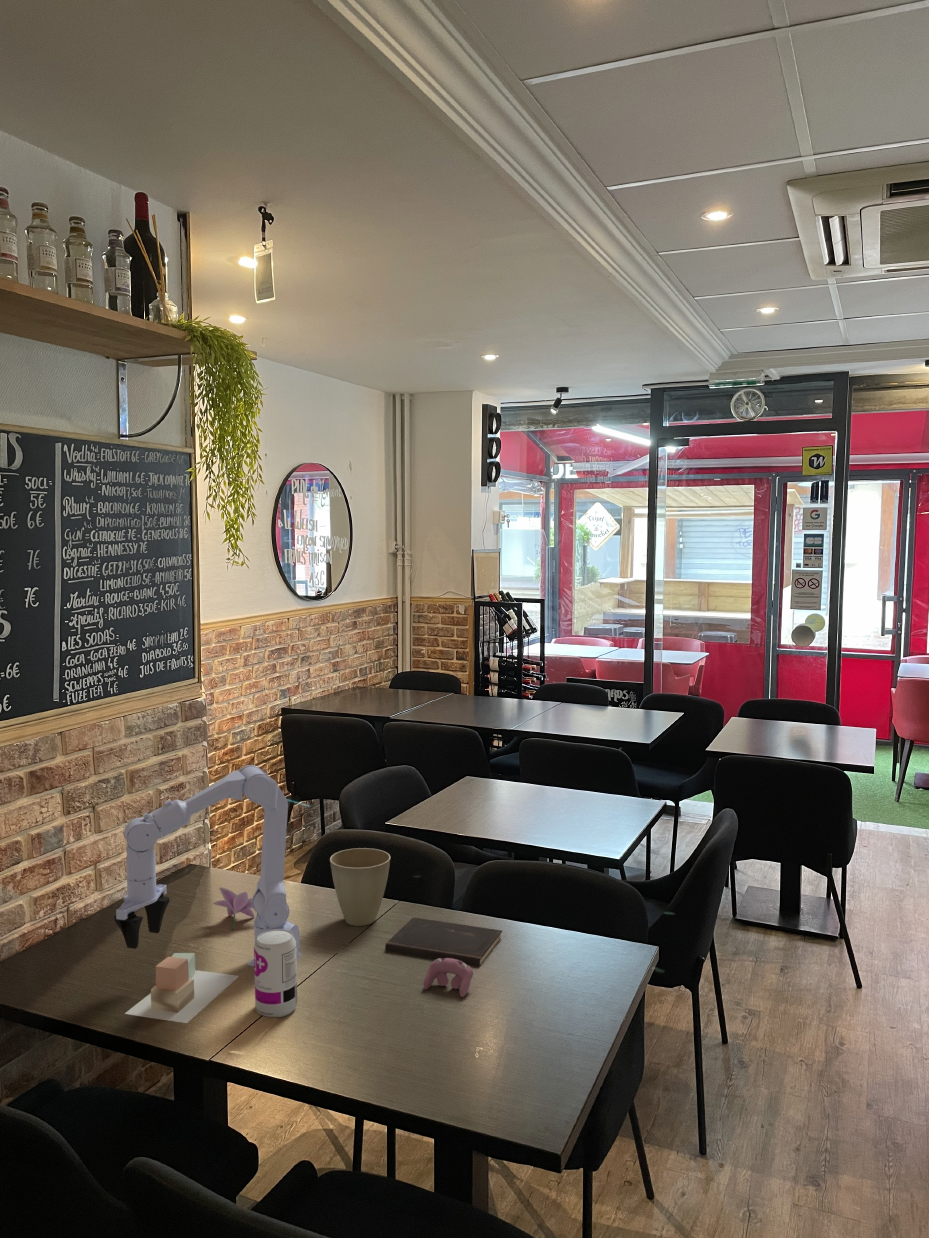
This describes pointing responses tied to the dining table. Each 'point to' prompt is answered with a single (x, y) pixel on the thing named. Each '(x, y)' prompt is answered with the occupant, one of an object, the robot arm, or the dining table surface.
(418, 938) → the hardcover book
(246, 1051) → the dining table surface
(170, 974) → the terracotta block
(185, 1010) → the mat
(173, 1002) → the birch base block
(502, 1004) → the dining table surface
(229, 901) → the lily
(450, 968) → the video game controller
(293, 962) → the supplement can
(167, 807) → the robot arm
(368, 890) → the plant pot
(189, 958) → the sage block
